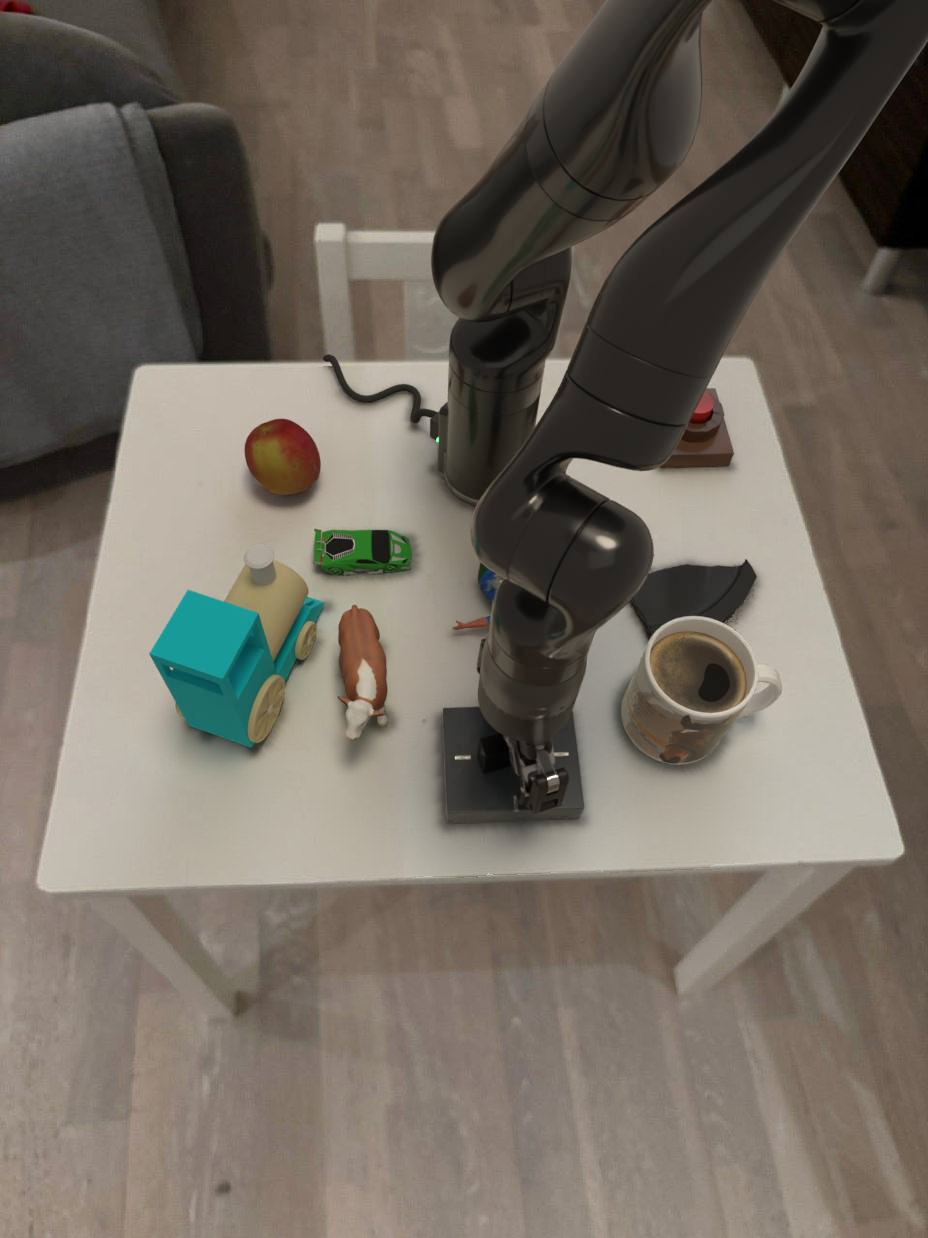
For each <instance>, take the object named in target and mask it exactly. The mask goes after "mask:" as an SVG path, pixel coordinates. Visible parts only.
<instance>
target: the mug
mask: <svg viewBox="0 0 928 1238" xmlns="http://www.w3.org/2000/svg"><path fill="white" fill-rule="evenodd" d="M646 644H647V645H646V646H645V648H644V651H643V653H642V655H641V657H640V659H639V662H638V664H637V666H636V668H635V671H634V673H633V675H632V677H631V680H630V682H629V684H628V686H627V688H626V690H625V693H624V695H623V697H622V701H621V705H620V706H621V707H620V717H621V723H622V726H623V728H624V729H623V730H624V732H625V733H626V735H627V737H628V738H629V741H631V742H632V744H633V745H634V746H635V747H636V748H637V749H638V750H639V751H640V752H642V753H643V754H645V756H647V757H649V758H650V759H653V760H655V761H658V762H661V763H663V764H667V765H668V764H669V765H678V766H682V765H689V764H693V763H696V762H697V763H698V761H701V760H703V759H705V758H706V757H708V756H709V755H710V754H711V753H712V752H713V751H714V750H715V749H716V747H717V746H718V745H719V743H721V741H722V739H723V738H724V736H725V735H726V734H727V732H728V731H729V730H730V728H731V727H732V726H733V724H734V723H735V722H736V720H737V719H738V718H742V717H746V716H750V715H754V714H757V713H759V712H761V711H763V710H765V709H768V707H770V706H772V705H773V704H774V703H775V702H776V701H777V700H778V698H780V696H781V695H782V692H783V685H782V681H781V678H780V673H779V671H778V670H777V669H775V668H774V667H773V666H771V665H768V664H766V663H759V662H758V661H757V658H756V655H755V653H754V651H753V649H752V647H751V646H750V644H749V643H748V642H747V640H746V639H745V638H744V637H743V635H741V634H740V633H739V632H738V631H736V629H734V628H732V627H730V626H729V625H727V624H726V623H725V622H724V623H722V622H720V621H717V620H714V619H711V618H706V617H701V616H687V617H681V618H677V619H674V620H672V621H669V622H667V623H666V624H664V625H662V626H661V627H660V628H659V629H657V630H656V631H655V633H654V634H653V635H652V634H651V636H650V638H649V640H648V642H647V643H646ZM759 683H765V684H768V686H766V687H765V688H763V689H762V690H760V691H759V692H757V693H756V691H757V689H758V684H759Z"/></svg>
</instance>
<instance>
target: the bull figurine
mask: <svg viewBox="0 0 928 1238" xmlns="http://www.w3.org/2000/svg"><path fill="white" fill-rule="evenodd" d="M337 630H338V635H337V642H338V645H339V647H340V649H339V650H340V651H339V657H338V666H339V670H340V672H341V676H342V683H343V687H344V695H345V697H344V696H340V695H338V696H337V699H338V700H339V701H340V702H341V703H342V704H343V705H345V706H346V707H347V709H346V710H345V717H344V718H345V719H346V724H347V725H346V730H345V731H344V736H345V737H346V738H347V739H350V740H352V741H356V740H358V739H360V737H361V735H362V732H363V730H364V728H365V727H366V726H367V724H368V723H369V720H370V718H371V717H376V724H377V726H379V727H381V728H384V727H386V726H387V725H388V723H389V720H388V718H387V715H386V714H387V713H385V710H386V705H385V703H386V701H387V697H388V682H387V678H388V677H387V675H388V673H387V672H388V669H387V656H386V653H385V650H384V647H383V645H382V644H381V642H380V641H379V640H380V637H381V632H380V629H379V627H378V625H377V623H376V620H375V618H374V616H373V615H372V613H371V612H370V611H369V610H368V609H365V608H363V607H360V608H359V607H358V605H357V604H353V605H351V609H348V610H345V611H344V612H343V613H342V614H341V617H340V620H339V623H338V629H337Z"/></svg>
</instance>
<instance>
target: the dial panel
mask: <svg viewBox="0 0 928 1238" xmlns="http://www.w3.org/2000/svg"><path fill="white" fill-rule="evenodd" d="M441 716H442V717H441V725H442V726H441V727H442V729H441V730H442V751H443V773H444V774H443V775H444V798H445V800H444V801H445V821H446V822H445V823H446V824H466V823H467V824H468V823H495V822H519V821H520V822H521V821H547V820H549V821H550V820H572V819H573V820H574V819H575V820H576V819H580V818H581V816H582V813H583V811H584V810H585V802H584V793H583V784H582V783H583V782H582V777H581V776H582V775H581V768H580V759H579V752H578V742H577V736H576V735H577V734H576V726H575V719H574V718H575V717H574V709H573V710H572V713H571V715H570V717H569V719H568V721H567V722H566V724H565V725H564V726H563V727H562V728H561V729H560V730H559V731H558V732H557V733H556V734H555V735H554V736H553V737H552V742H553V749H554V756H555V764H554V765H553V766H554V768H555V769H556V768H561V767H564V768H565V769H566V771H567V772H568V775H569V777H568V778H569V782H568V785H567V789H566V792H565V795H564V799H563V802H562V806H559V807H556V808H552V809H549V810H546V811H543V812H540V813H537V814H532V812H531V811H530V809H529V807H528V808H526V807H525V805H524V804H522V805H519V803H518V800H517V797H516V796H517V792H518V789H519V785H520V780H519V776H518V775H517V774H516V773H515V771H514V770H513V768H512V766H510V767H506V768H503V769H499V770H496V771H492V772H489V773H485V774H483V772H482V769H481V766H480V763H479V760H478V757H477V754H478V747H479V740H480V738H484V737H487V736H491V735H495V734H498V733H499V732H498V731H496V730H495V729H494V728H493V727H492V726H491V725H490V724H489V723H488V722H487V721H486V719H485V718H484V716H483V714H482V712H481V710H480V707H479V706H460V707H459V706H457V707H443V708H442V715H441ZM537 774H538V771H534V772H531V773H529V775H528V780H531V776H534V775H537Z"/></svg>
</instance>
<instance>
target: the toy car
mask: <svg viewBox="0 0 928 1238" xmlns="http://www.w3.org/2000/svg"><path fill="white" fill-rule="evenodd" d="M313 531H314V541H313V553H314V554H313V555H314V561H313V562H312V563H313V565H315V566H321V569H322V570H323V571H324V572H326V573H327V574H331V575H335V576H337V575H341V574H342V575H343V576H350V575H357V574H359V573H367V574H370V575H376V574H383V573H384V572H386V573H394V572H401V571H406V570H410V569H411V565H412V562H411V558H412V555H413V553H412V551H413V550H412V546H411V544H410V538H407V537H406V536H405V535H402V534H399V533H398V532H396V531H393V530H389V529H353V530H352V529H351V530H348V529H347V530H345V529H331V530H325V531H323V530H322V529H321V528H314V529H313Z"/></svg>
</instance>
